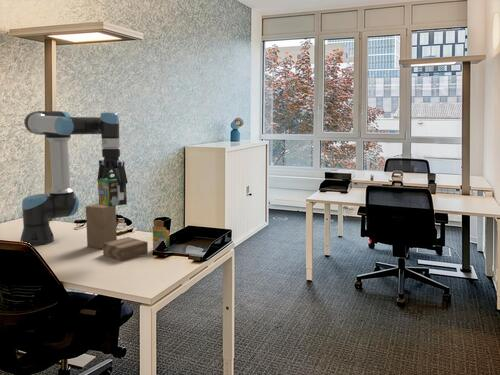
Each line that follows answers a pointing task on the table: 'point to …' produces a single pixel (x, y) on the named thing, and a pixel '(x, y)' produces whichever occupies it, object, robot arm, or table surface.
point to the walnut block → (125, 248)
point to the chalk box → (110, 192)
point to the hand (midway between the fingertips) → (112, 198)
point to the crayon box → (160, 236)
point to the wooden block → (100, 225)
